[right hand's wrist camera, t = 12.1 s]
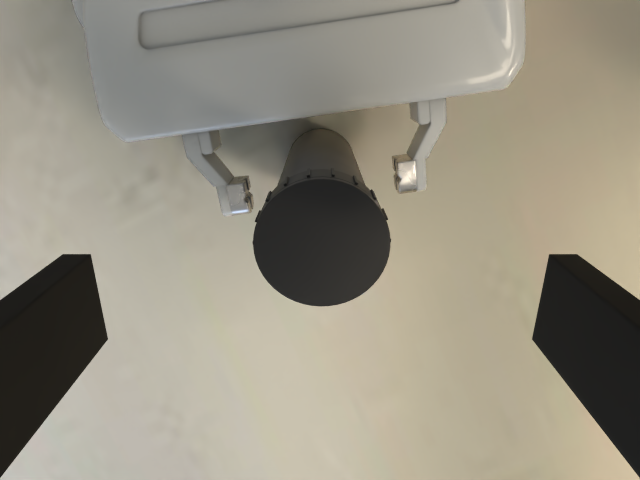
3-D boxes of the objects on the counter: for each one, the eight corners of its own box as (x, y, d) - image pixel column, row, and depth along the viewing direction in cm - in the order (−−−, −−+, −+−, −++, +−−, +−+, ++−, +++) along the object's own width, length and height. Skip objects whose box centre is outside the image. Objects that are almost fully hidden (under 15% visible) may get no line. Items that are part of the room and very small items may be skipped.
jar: (362, 180, 31) (397, 273, 17) (302, 202, 31) (289, 310, 18) (340, 118, 29) (358, 164, 15) (277, 143, 30) (241, 208, 16)
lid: (402, 264, 18) (410, 282, 17) (286, 303, 19) (283, 324, 17) (362, 147, 16) (366, 155, 15) (235, 195, 17) (227, 207, 16)
